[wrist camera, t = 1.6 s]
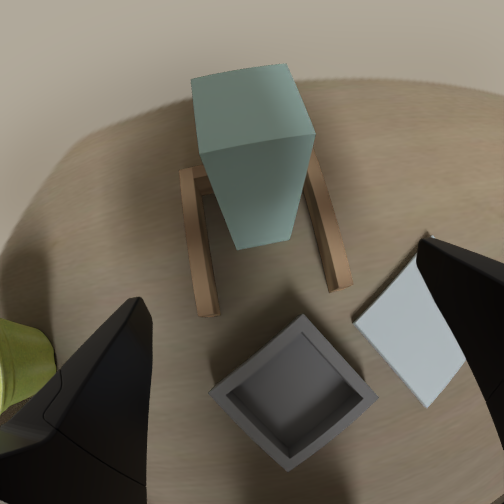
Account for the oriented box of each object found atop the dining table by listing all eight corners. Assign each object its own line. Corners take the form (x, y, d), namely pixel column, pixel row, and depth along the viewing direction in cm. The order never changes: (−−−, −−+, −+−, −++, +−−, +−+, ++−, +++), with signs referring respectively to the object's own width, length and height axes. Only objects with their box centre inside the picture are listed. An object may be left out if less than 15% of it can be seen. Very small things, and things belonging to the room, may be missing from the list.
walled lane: (342, 289, 21) (353, 284, 18) (207, 317, 21) (198, 316, 18) (307, 165, 23) (312, 144, 20) (188, 187, 23) (178, 170, 20)
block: (289, 239, 22) (315, 133, 9) (237, 250, 22) (199, 153, 9) (278, 192, 23) (286, 63, 10) (228, 201, 23) (190, 79, 10)
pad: (423, 406, 18) (427, 408, 17) (352, 323, 20) (354, 323, 20) (488, 318, 19) (492, 318, 19) (429, 237, 21) (432, 235, 21)
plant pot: (86, 357, 20) (14, 363, 12) (51, 425, 19) (-10, 445, 10) (29, 291, 22) (-36, 274, 14) (0, 360, 20) (-59, 359, 12)
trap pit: (285, 457, 18) (287, 472, 15) (214, 385, 20) (208, 393, 17) (367, 390, 19) (379, 397, 16) (299, 314, 20) (303, 313, 18)
